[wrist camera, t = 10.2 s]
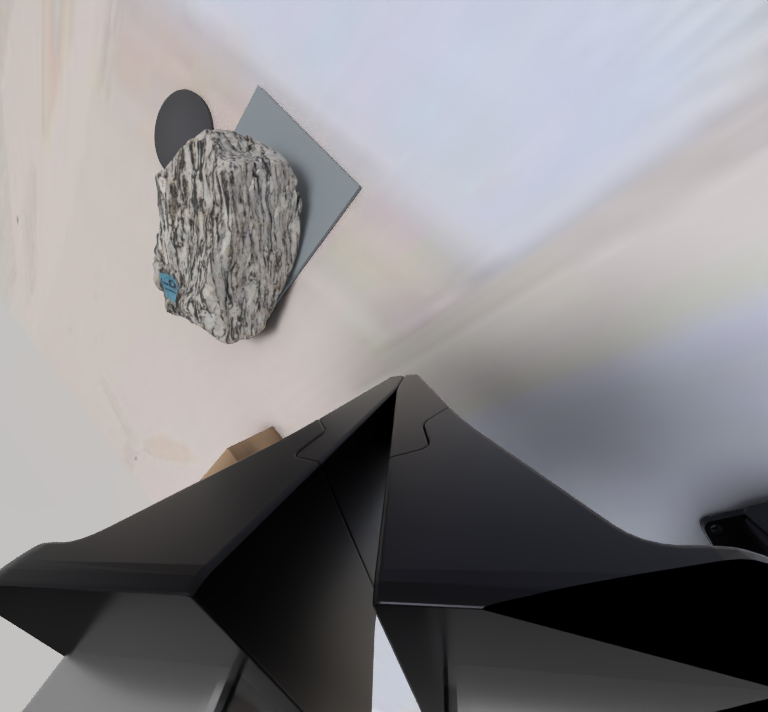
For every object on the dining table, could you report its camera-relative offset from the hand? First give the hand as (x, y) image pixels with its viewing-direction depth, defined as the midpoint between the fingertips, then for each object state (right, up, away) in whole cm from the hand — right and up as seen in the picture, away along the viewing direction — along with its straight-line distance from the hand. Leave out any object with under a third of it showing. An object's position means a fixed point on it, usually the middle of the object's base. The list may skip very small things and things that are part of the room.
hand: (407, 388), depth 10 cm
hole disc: (-18, +20, +18) cm, 33 cm away
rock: (-10, +7, +12) cm, 17 cm away
